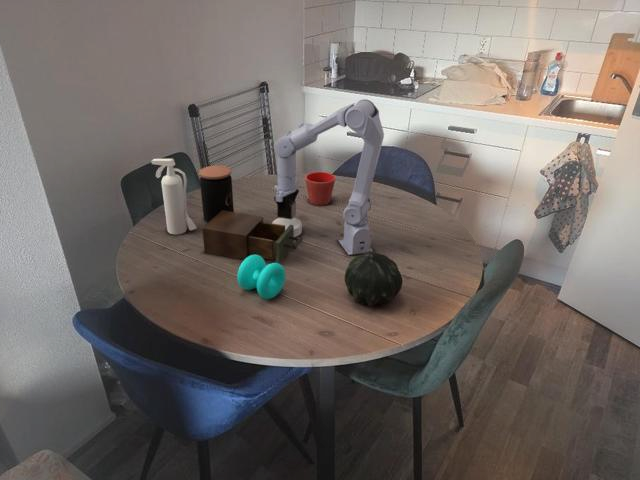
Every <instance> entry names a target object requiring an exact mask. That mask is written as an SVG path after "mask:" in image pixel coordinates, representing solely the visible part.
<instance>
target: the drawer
mask: <svg viewBox="0 0 640 480" xmlns="http://www.w3.org/2000/svg"><path fill="white" fill-rule="evenodd" d="M247 241H248V255H259V256H261V257H262V258H263V259H267V260H272V261H273V260H274V258H275V263H278V264H281V262H282V261H283V260H284V258H285V257H286V255H287V254H288V253H289V251H290V250H291V249H292V250H293V251H296V250H297V249H298V247H299V246H300V244H302V241H303V237H302V236H298V237H294V225H289V227H288V228H287V229H286V230H285V225H279V224H273V223H272V222H266V221H264V222H261V223H260V224H259V225H258V226H257V227H256V228H255V229H254V230H253V231H252V232H251V233H250V235H249V236H248V237H247Z"/></svg>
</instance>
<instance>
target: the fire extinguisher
mask: <svg viewBox="0 0 640 480" xmlns="http://www.w3.org/2000/svg"><path fill="white" fill-rule="evenodd" d="M150 163H151V165H157V166H159V167H158V168H157V170H156V171H155V177H156V178H157V179H159V178H161V176H162V172H163V171H164V168H166V174H165V175H163V176H162V178H161V181H160V183H161V184H160V185H161V191H162V198H163V204H164V214H165V221H166V230H167V232H168V233H169V234H170V235H175V236H176V235H182V234H184V233H186V232H187V230H189V231H194V230H196V229H197V226H196V224H195V223H194V220H192V218H191V217H189V214H188V213H189V212H188V208H187V207H188V206H187V205H188V203H187V185H188V179H187V175H186V173H185V172H184V171H183V170H181V169H180V168H176V167H174V166H176V161H175V159H174V158H153V159H152V160H151V161H150ZM176 172H178V173H180V174H181V175H182V177H183V179H182V177H181V176H180V175H179V174H176Z"/></svg>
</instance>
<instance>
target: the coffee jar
mask: <svg viewBox="0 0 640 480" xmlns="http://www.w3.org/2000/svg"><path fill="white" fill-rule="evenodd" d="M231 174H232V169H231V168H230V167H229V166H226V165H209V166H206V167H202V168H201V169H200V170H199V171H198V175H199V185H200V186H199V187H200V196H201V206H202V212H203V213H202V214H203V216H202V217H203V220H204V222H206V224H207V223H209V222H210V221H211V220H212V219H213V218H214V217H215V216H216V215H218V214H219V213H220V212H221V211H222V210H224V211H230V212H235V211H234V210H235V209H234V193H233V178H232V175H231Z"/></svg>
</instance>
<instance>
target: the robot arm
mask: <svg viewBox="0 0 640 480" xmlns="http://www.w3.org/2000/svg"><path fill="white" fill-rule="evenodd" d="M337 126H341V127H342V128H345V127H348V129H350V130H352V131H353V132H354V133H356V134H357V135H359V136H360V138H361V139H362V140H363V146H362V152H361V154H360V155H361V156H360V159H359V164H358V167H357V171H356V176H355V181H354V185H353V190H352V193H351V195H350V197H349V199H348V203H347V206H346V207H345V208H344V209H343V211H342V217H343V220H344V224H343V225H344V226H343V239H338V242H339V244H340V245H341V246H342V248H343V249H344V251H345V252H346V254H347V255H349V256H353V255H361V254H364V253H366V252H369V251H372V252H374V250H373V249H372V247H371V243H372V232H371V230H370V228H369V216H368V213H370V211H371V209H372V202H371V196H372V193H371V189H372V186H373V182H374V177H375V173H376V171H377V170H376V169H377V167H378V166H377V165H378V162H379V158H380V154H381V149H382V145H383V143H384V138H385V133H384V128H383V125H382V122H381V118H380V110H379V108H378V107H377V106H376V105H375V103H374V102H373V101H372V100H369V99H366V98H363V99H360V100H359V101H358V102H356V103H355V102H354V103H351V104H349V105H346V106H343V107H341V108H339V109H338V110H336V111H335V112H332V113H331V114H329V115H327V116H326V117H324V118H323V119H321V120H319V121H318V122H316V123H314V124H312V123H309V122H306V123H304V122H302V123H300V124H299V125H298V128H296V129H294V130H292V131H291V130H290V131H287V132H286V133H285V135H283V136H282V137H280V138H278V139H277V140H276V141H275V143H274V146H273V150H274V152H275V154H276V155H277V161H276V163H277V184H275V186H274V187H273V189H274V190H276V194H275V196H273V199H274V202H275V203H276V206H277V205H278V208H279V211H280V215H281V217H285V218H287V217H288V213H289V206H290V203H291V201H296V199H297V197H298V194H299V192H300V190H299V188H297V186H298V179H297V174H296V173H297V151H300V150H302V149H303V148H305V147H307V146H309V145H311V144H313V143H315V142H317V139H318V136H319V135H321V134H323V133H324V132H327V131H329V130H330V129H332V128H334V127H337Z"/></svg>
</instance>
